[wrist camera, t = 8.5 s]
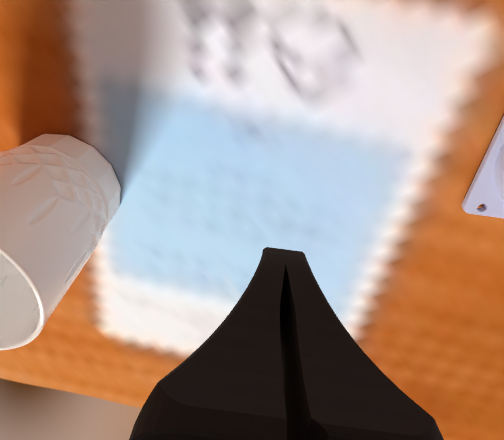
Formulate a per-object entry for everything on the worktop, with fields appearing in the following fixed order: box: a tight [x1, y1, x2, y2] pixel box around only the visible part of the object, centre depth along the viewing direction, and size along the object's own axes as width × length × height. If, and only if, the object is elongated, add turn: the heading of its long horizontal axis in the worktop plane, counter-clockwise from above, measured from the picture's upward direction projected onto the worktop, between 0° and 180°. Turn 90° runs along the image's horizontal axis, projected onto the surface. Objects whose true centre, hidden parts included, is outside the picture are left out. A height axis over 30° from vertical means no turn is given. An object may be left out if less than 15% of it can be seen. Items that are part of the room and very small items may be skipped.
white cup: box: [0, 134, 121, 350], centre depth 20 cm, size 8×8×10 cm
